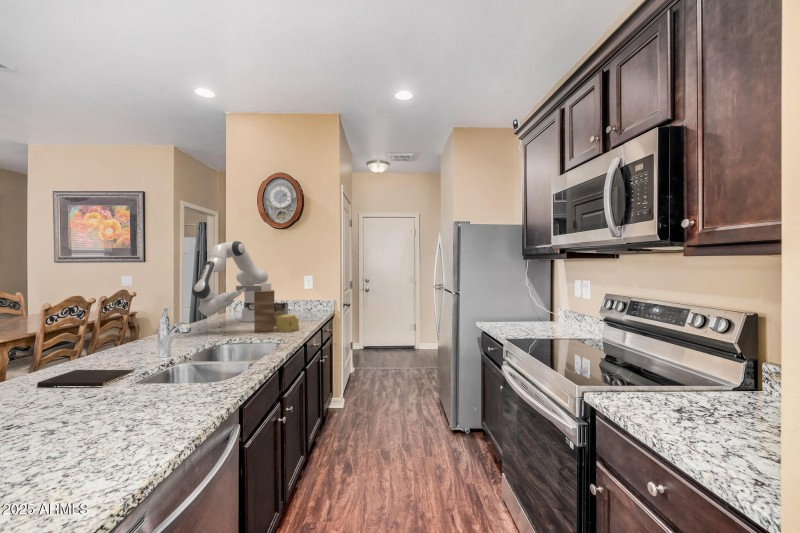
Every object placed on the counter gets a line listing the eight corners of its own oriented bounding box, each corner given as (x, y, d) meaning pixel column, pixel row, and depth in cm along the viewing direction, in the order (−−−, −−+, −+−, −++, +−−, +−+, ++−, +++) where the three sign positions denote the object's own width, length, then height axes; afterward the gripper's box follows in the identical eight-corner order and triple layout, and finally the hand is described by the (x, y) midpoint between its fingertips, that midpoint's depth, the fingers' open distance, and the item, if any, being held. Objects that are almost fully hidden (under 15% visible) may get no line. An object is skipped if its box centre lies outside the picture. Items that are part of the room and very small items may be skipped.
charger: (236, 291, 243) (236, 283, 243) (271, 290, 250) (271, 282, 250) (235, 291, 238) (235, 283, 238) (271, 291, 244) (271, 283, 244)
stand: (254, 329, 250) (254, 290, 249) (274, 328, 254) (274, 290, 253) (253, 332, 238) (253, 291, 238) (274, 331, 242) (274, 291, 242)
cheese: (299, 330, 249) (299, 314, 249) (287, 332, 240) (287, 316, 240) (286, 328, 254) (286, 314, 254) (275, 331, 244) (275, 316, 244)
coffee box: (272, 326, 263) (272, 303, 263) (276, 324, 270) (275, 302, 270) (284, 326, 263) (284, 303, 262) (288, 325, 269) (288, 302, 269)
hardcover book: (75, 375, 149) (75, 369, 149) (134, 375, 149) (134, 369, 149) (36, 389, 133) (36, 382, 133) (102, 389, 133) (102, 382, 133)
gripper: (220, 296, 228) (242, 284, 232) (224, 294, 248) (244, 283, 251) (226, 305, 229) (247, 293, 233) (230, 302, 249) (249, 291, 252)
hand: (246, 288), depth 242 cm, fingers open, 5 cm apart
